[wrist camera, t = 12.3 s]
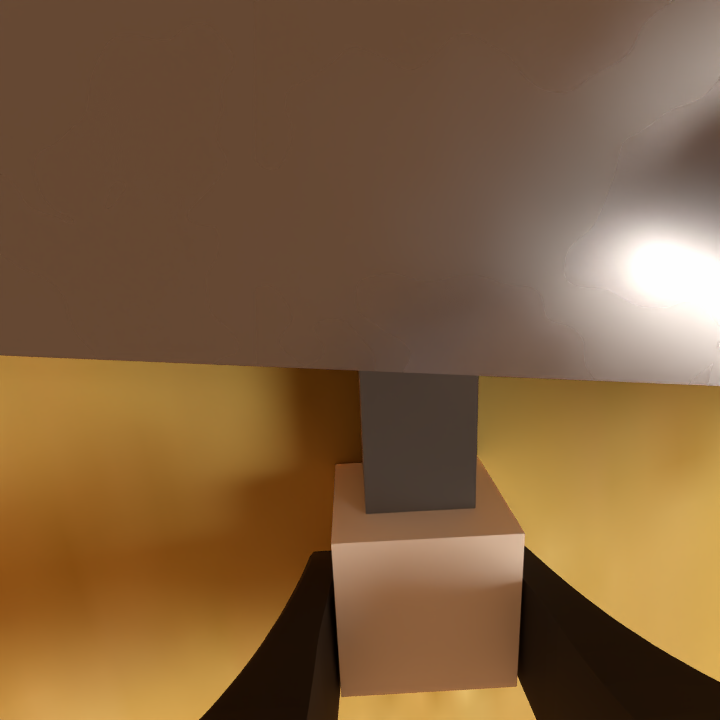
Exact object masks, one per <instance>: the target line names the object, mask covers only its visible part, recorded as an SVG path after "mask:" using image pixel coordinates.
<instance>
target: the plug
mask: <svg viewBox="0 0 720 720" xmlns="http://www.w3.org/2000/svg"><path fill="white" fill-rule="evenodd" d="M478 378H479V376H474V375H451V374H427V373H404V372H380V371H358V379H359V401H360V423H361V444H362V463H347V464H336V465H335V483H334V501H333V520H332V538H331V549H332V564H333V578H334V593H335V608H336V623H337V638H338V652H339V667H340V682H341V697H348V696H365V695H382V694H399V693H416V692H433V691H450V690H466V689H483V688H500V687H517V671H518V652H519V633H520V615H521V596H522V577H523V559H524V540H525V533H524V531H523V530H522V528H521V526H520V525H519V523H518V522H517V520H516V518H515V517H514V515H513V513H512V512H511V510H510V508H509V507H508V505H507V503H506V502H505V500H504V499H503V497H502V495H501V494H500V492H499V490H498V489H497V487H496V485H495V484H494V482H493V481H492V479H491V477H490V476H489V474H488V472H487V471H486V469H485V467H484V466H483V464H482V462H481V461H480V459H479V458H478V457H477V422H478Z"/></svg>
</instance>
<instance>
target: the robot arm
mask: <svg viewBox="0 0 720 720" xmlns="http://www.w3.org/2000/svg"><path fill="white" fill-rule="evenodd" d="M517 676H518V678H519V680H520V683H521V685H522V687H523V690H524V692H525V694H526V696H527V699H528V701H529V703H530V706H531V708H532V710H533V713H534V715H535V717H536V720H720V682H719V681H717V680H715V679H713V678H711V677H709V676H707V675H705V674H703V673H701V672H700V671H698V670H696V669H694V668H692V667H691V666H689V665H687V664H685V663H684V662H682V661H680V660H678V659H677V658H675V657H673V656H671V655H669V654H668V653H666V652H664V651H663V650H661V649H659V648H658V647H656V646H655V645H653V644H651V643H650V642H648V641H647V640H645V639H644V638H642V637H641V636H639V635H637V634H636V633H634V632H633V631H631V630H630V629H628V628H627V627H625V626H624V625H622V624H621V623H619V622H618V621H616V620H615V619H614V618H612V617H611V616H609V615H608V614H607V613H605V612H604V611H603V610H601V609H600V608H599V607H597V606H596V605H595V604H593V603H592V602H591V601H589V600H588V599H587V598H585V597H584V596H583V595H582V594H580V593H579V592H578V591H576V590H575V589H574V588H573V587H572V586H570V585H569V584H568V583H567V582H566V581H564V580H563V579H562V578H561V577H559V576H558V575H557V574H556V573H555V572H554V571H553V570H551V569H550V568H549V567H548V566H547V565H546V564H545V563H543V562H542V561H541V560H540V559H539V558H538V557H537V556H536V555H534V554H533V553H532V552H531V551H530V550H529V549H528V548H527V547H525V546H524V559H523V577H522V596H521V615H520V633H519V652H518V671H517ZM340 687H341V682H340V667H339V652H338V638H337V623H336V608H335V593H334V578H333V564H332V551H319V552H313V553H312V554H311V556H310V557H309V560H308V563H307V565H306V567H305V569H304V572H303V574H302V576H301V578H300V580H299V582H298V584H297V586H296V588H295V590H294V592H293V593H292V595H291V597H290V599H289V601H288V602H287V604H286V606H285V608H284V609H283V611H282V613H281V615H280V616H279V618H278V619H277V621H276V623H275V624H274V626H273V627H272V629H271V630H270V632H269V633H268V635H267V637H266V638H265V640H264V641H263V643H262V644H261V646H260V647H259V648H258V650H257V651H256V653H255V654H254V655H253V657H252V658H251V659H250V661H249V662H248V663H247V665H246V666H245V667H244V669H243V670H242V671H241V673H240V674H239V675H238V676H237V678H236V679H235V680H234V681H233V682H232V683H231V685H230V686H229V687H228V688H227V689H226V691H225V692H224V693H223V694H222V695H221V697H220V698H219V699H218V700H217V701H216V702H215V703H214V705H213V706H212V707H211V708H210V709H209V710H208V711H207V712H206V713H205V714H204V715H203V716H202V717H201V718H200V719H199V720H338V709H339V698H340Z"/></svg>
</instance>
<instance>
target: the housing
mask: <svg viewBox="0 0 720 720" xmlns="http://www.w3.org/2000/svg"><path fill="white" fill-rule="evenodd" d="M0 355H5V356H28V357H52V358H75V359H99V360H122V361H146V362H169V363H193V364H216V365H239V366H263V367H286V368H310V369H333V370H357V371H380V372H404V373H427V374H451V375H474V376H497V377H521V378H544V379H568V380H591V381H615V382H638V383H662V384H685V385H708V386H720V0H0Z"/></svg>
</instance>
